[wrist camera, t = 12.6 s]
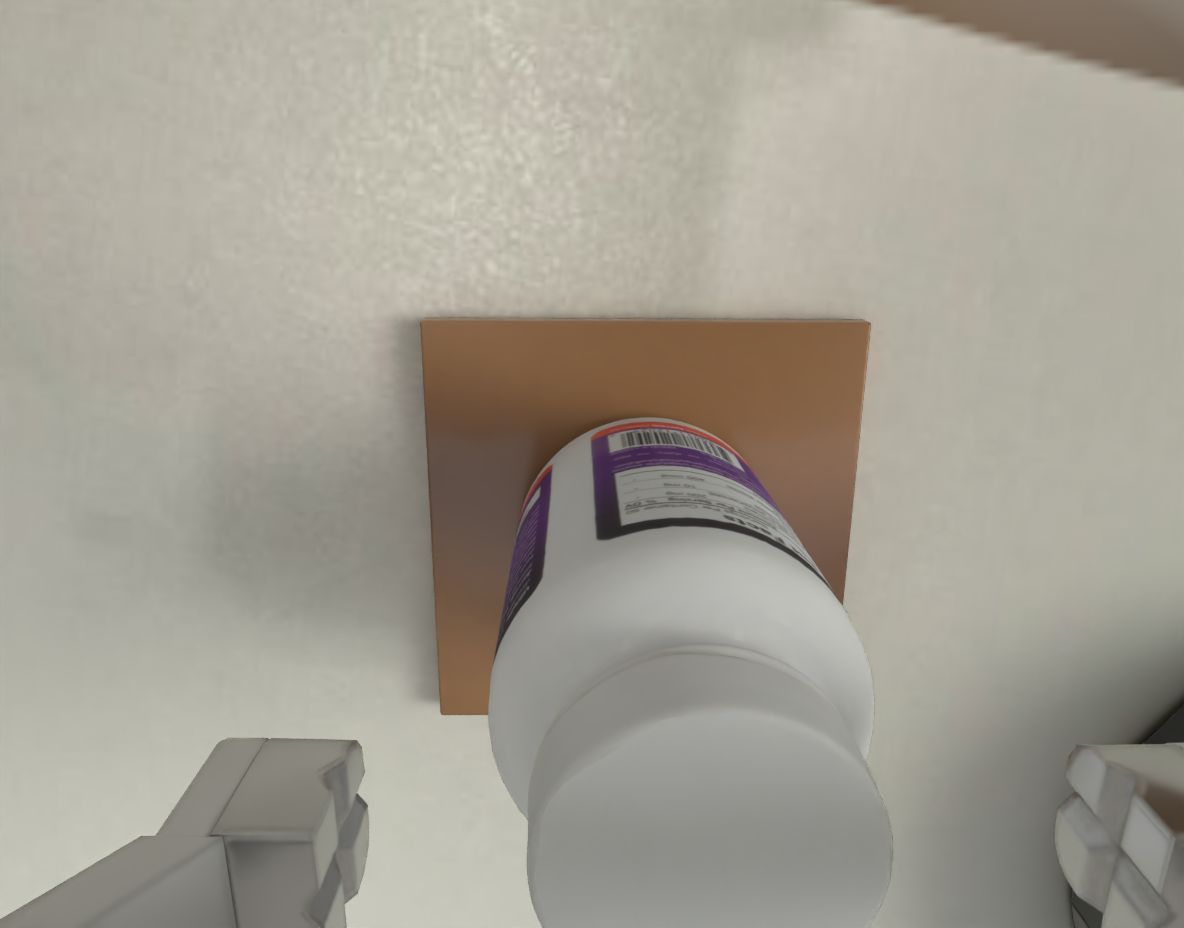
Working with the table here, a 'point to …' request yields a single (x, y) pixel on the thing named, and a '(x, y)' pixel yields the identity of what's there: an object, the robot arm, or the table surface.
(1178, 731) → the pan
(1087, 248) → the table surface
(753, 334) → the copper plate
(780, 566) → the pill bottle
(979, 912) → the table surface
